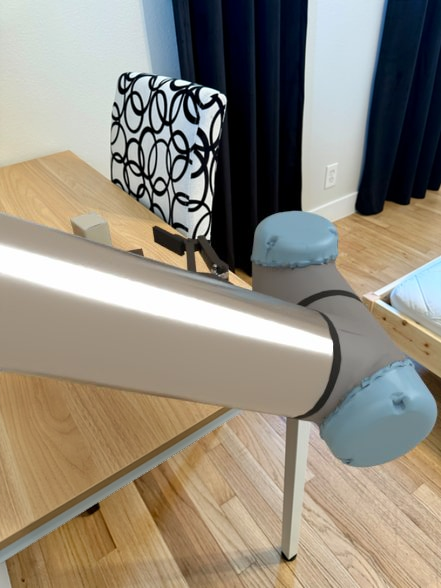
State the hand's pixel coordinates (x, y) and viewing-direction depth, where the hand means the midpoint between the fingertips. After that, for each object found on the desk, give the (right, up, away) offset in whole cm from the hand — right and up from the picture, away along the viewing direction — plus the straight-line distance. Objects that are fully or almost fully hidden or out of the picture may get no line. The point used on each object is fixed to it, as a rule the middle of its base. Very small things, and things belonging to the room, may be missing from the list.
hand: (119, 250), depth 64 cm
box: (-6, -3, +11) cm, 13 cm away
